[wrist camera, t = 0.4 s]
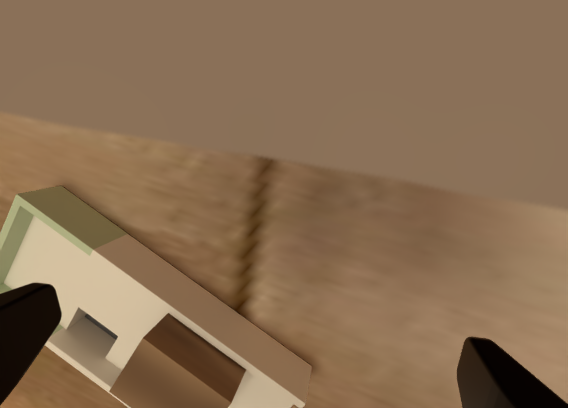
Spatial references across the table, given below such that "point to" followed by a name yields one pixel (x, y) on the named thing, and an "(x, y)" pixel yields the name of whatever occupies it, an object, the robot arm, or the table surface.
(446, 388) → the table surface
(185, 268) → the table surface
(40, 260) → the tray
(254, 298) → the table surface
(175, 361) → the walnut block
